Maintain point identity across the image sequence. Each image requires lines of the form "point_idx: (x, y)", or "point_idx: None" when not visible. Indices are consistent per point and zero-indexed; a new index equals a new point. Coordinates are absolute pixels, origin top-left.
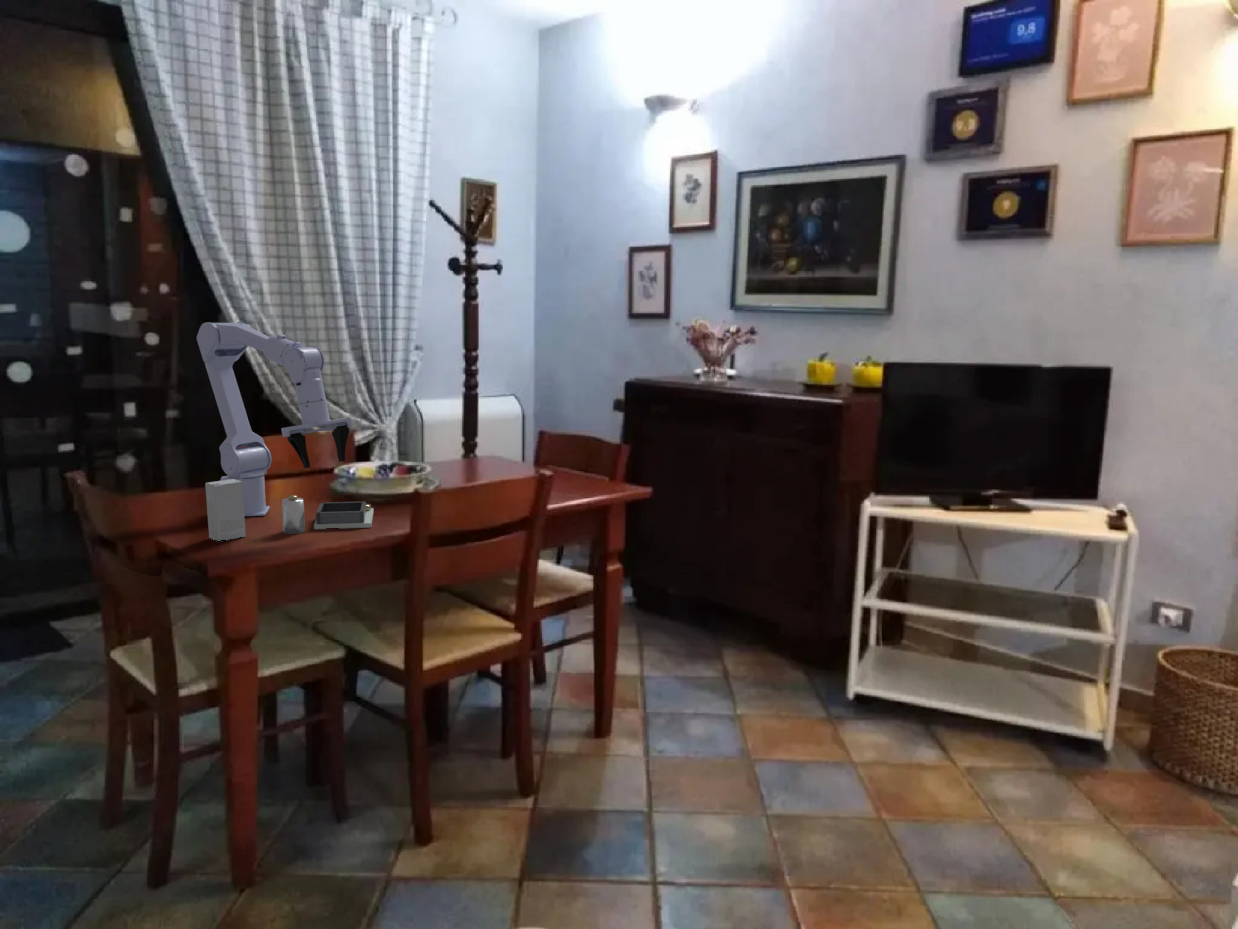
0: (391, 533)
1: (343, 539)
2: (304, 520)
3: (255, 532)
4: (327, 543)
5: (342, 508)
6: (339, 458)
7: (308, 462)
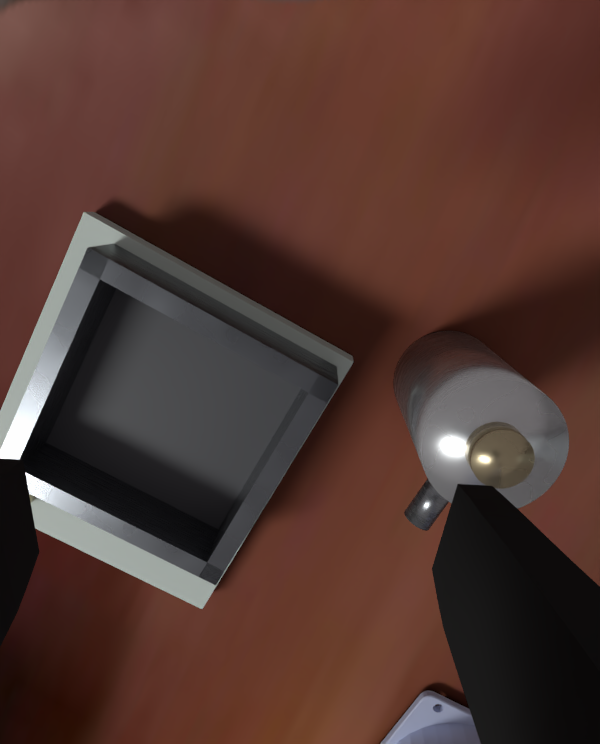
0: (42, 13)
1: (319, 62)
2: (408, 373)
3: (592, 468)
4: (427, 35)
5: (128, 501)
6: (17, 558)
7: (497, 518)
